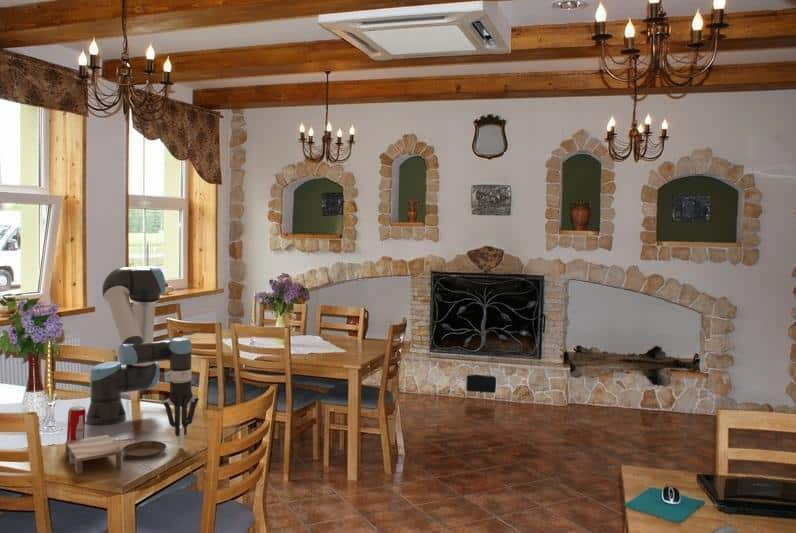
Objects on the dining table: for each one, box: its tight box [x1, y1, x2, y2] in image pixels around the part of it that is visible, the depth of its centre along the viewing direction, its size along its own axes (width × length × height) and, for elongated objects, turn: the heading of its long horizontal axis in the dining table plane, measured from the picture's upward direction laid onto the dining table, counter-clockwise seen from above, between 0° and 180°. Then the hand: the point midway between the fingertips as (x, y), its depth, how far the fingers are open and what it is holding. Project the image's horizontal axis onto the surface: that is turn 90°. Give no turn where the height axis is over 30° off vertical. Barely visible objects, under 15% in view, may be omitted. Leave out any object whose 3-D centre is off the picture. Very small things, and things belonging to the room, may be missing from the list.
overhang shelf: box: [65, 434, 123, 477], centre depth 236 cm, size 20×14×6 cm
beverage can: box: [66, 405, 87, 441], centre depth 250 cm, size 6×6×15 cm
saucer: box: [121, 440, 167, 461], centre depth 246 cm, size 15×15×3 cm
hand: (180, 443), depth 253 cm, fingers closed
